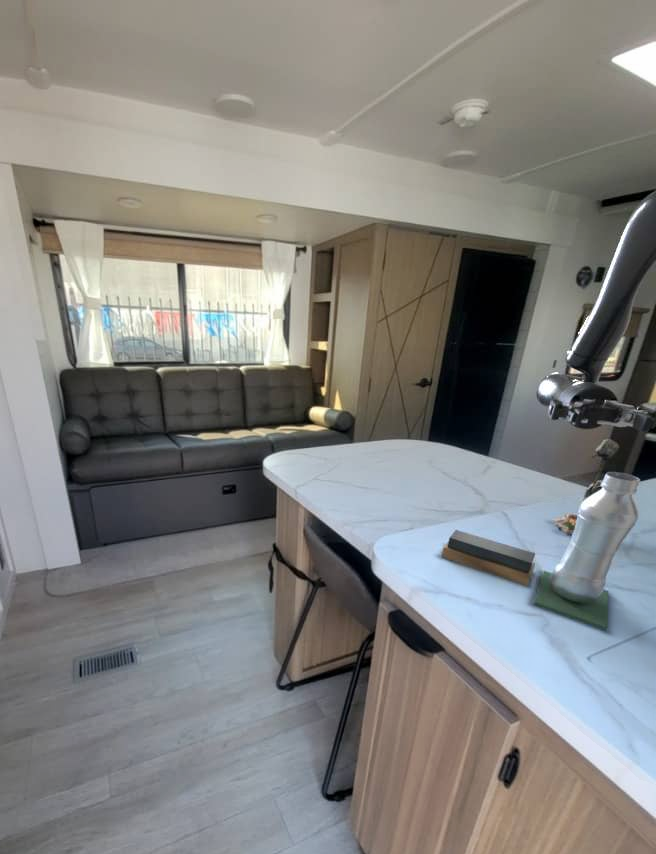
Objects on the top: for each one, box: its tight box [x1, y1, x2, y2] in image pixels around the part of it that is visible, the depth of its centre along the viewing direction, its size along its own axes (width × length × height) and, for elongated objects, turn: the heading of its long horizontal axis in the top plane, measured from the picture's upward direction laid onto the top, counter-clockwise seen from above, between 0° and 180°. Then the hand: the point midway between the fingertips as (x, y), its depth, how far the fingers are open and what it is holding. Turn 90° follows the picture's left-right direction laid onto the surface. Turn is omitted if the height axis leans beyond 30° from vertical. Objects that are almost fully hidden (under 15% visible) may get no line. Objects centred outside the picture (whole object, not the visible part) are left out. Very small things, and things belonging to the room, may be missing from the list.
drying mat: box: [533, 570, 609, 631], centre depth 64 cm, size 9×11×1 cm
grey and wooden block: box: [440, 529, 536, 587], centre depth 71 cm, size 14×5×4 cm, turn 53°
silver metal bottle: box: [550, 471, 641, 603], centre depth 59 cm, size 6×7×20 cm
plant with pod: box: [551, 438, 620, 535], centre depth 81 cm, size 8×11×20 cm
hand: (612, 421), depth 62 cm, fingers open, 8 cm apart
